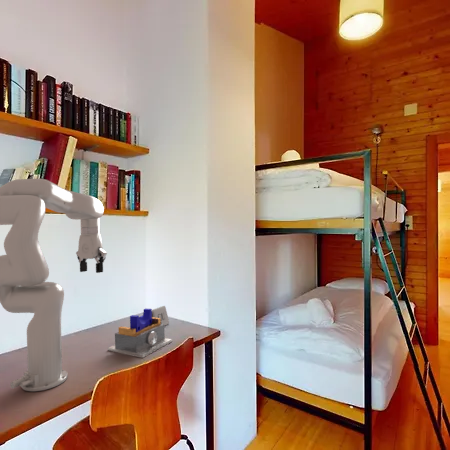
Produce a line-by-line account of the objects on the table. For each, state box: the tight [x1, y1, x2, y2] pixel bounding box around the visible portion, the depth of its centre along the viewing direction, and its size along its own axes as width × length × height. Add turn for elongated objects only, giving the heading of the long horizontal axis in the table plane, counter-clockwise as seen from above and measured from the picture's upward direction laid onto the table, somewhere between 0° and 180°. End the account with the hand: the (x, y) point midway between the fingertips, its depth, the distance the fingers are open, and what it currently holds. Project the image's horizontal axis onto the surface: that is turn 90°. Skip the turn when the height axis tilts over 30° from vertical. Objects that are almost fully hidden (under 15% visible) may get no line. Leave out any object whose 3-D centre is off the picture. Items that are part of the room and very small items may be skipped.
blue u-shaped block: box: [129, 307, 153, 332], centre depth 128 cm, size 12×4×6 cm, turn 165°
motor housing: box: [107, 317, 173, 359], centre depth 128 cm, size 18×18×10 cm
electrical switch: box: [152, 305, 170, 327], centre depth 155 cm, size 9×5×9 cm, turn 152°
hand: (91, 271), depth 133 cm, fingers open, 9 cm apart
